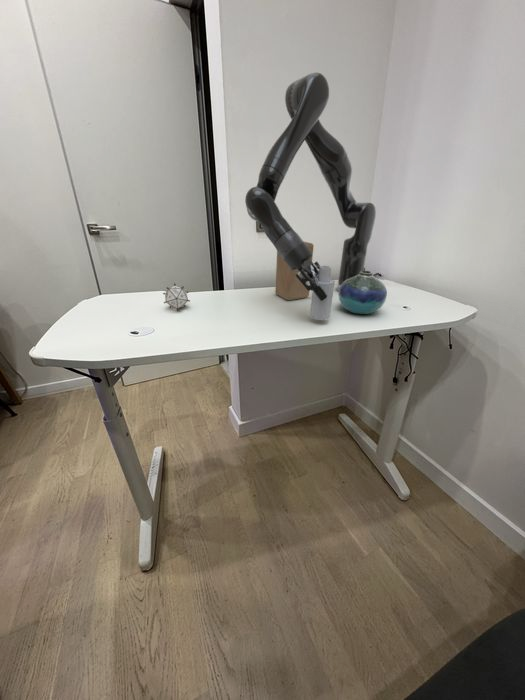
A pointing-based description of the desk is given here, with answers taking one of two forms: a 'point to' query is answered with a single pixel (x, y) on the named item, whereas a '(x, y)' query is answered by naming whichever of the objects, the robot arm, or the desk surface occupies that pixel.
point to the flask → (323, 308)
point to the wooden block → (290, 280)
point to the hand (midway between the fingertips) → (327, 295)
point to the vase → (362, 293)
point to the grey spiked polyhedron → (176, 297)
